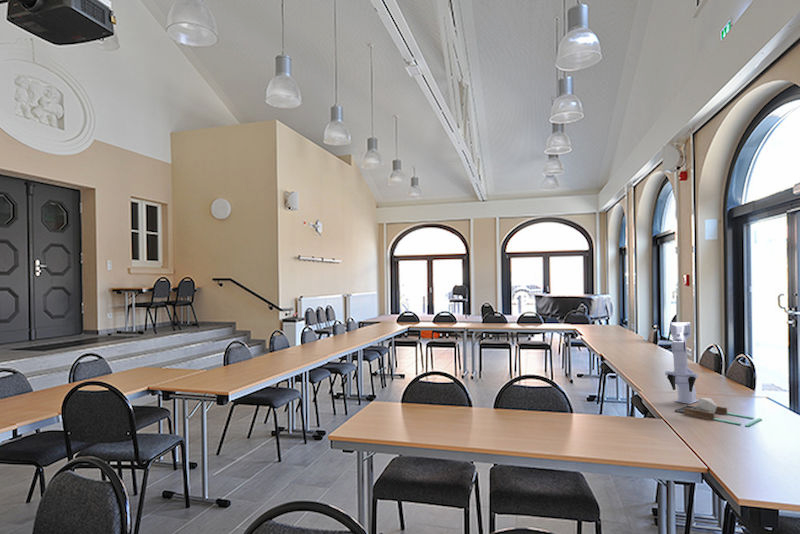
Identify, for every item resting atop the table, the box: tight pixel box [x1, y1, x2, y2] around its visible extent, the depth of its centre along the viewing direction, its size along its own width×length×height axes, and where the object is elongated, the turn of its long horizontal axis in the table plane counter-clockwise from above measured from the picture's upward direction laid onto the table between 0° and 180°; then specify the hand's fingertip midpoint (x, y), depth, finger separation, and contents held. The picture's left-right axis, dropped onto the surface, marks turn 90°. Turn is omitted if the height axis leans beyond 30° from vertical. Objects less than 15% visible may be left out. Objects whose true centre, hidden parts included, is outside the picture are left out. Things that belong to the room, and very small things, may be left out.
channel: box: [684, 405, 728, 421], centre depth 228 cm, size 15×13×3 cm
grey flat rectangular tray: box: [674, 404, 698, 414], centre depth 236 cm, size 12×5×1 cm, turn 122°
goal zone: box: [712, 412, 763, 428], centre depth 216 cm, size 15×14×1 cm
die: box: [695, 397, 718, 414], centre depth 227 cm, size 8×9×10 cm
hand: (682, 390), depth 234 cm, fingers open, 7 cm apart
